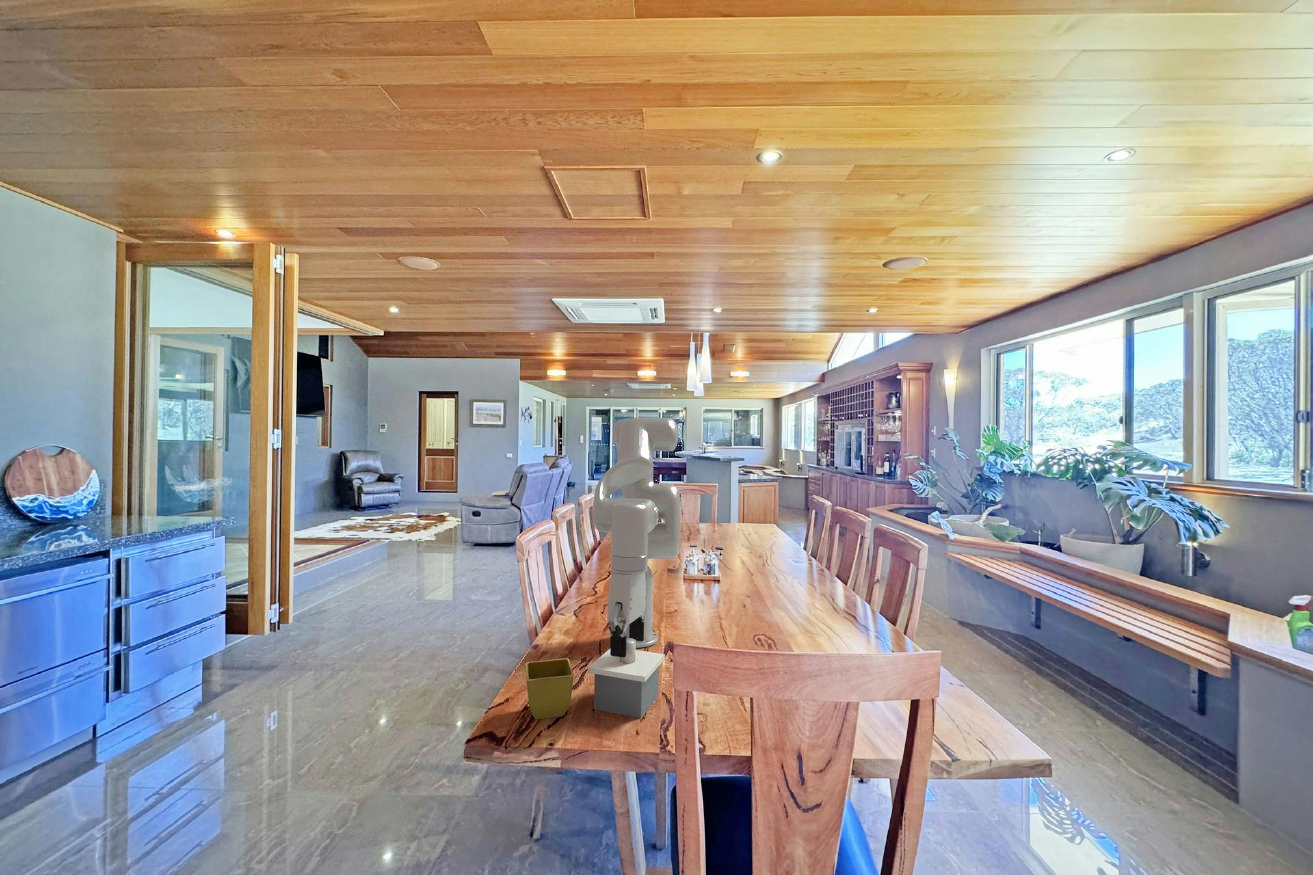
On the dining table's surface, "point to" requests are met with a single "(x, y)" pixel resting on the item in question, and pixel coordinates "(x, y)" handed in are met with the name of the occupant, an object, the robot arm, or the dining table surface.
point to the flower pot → (549, 687)
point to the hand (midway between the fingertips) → (627, 647)
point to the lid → (628, 663)
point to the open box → (625, 694)
